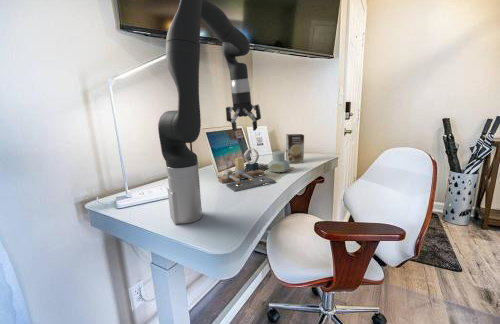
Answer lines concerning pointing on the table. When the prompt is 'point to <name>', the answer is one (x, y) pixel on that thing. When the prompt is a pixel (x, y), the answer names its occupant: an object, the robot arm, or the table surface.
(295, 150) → the coffee box
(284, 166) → the air freshener
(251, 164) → the watch
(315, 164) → the table surface
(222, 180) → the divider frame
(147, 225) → the table surface
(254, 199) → the table surface
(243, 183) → the bolt plate
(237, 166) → the sliding leg
